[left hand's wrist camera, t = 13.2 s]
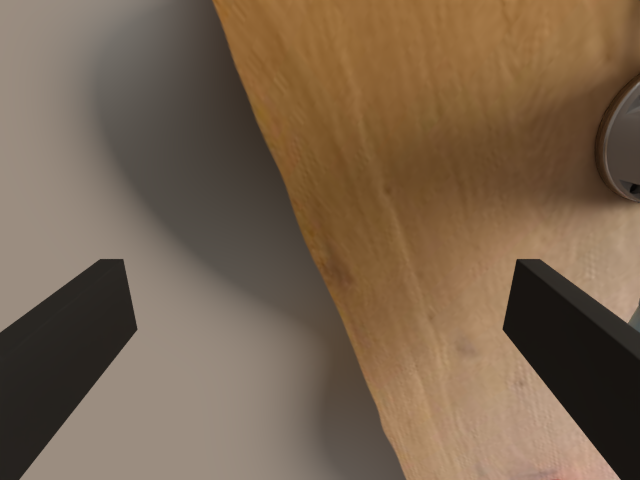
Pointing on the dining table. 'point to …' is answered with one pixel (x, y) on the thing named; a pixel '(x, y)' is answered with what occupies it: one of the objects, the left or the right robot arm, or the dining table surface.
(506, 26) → the dining table surface
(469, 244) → the dining table surface
